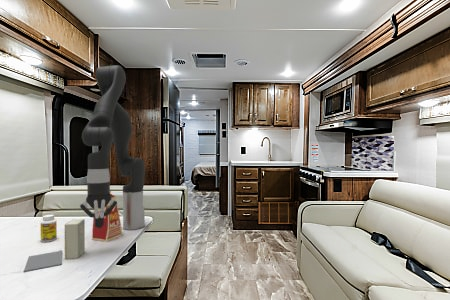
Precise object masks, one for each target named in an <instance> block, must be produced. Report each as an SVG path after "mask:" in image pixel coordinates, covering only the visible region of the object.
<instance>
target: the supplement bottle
mask: <svg viewBox="0 0 450 300" xmlns="http://www.w3.org/2000/svg"><path fill="white" fill-rule="evenodd" d="M57 227H58V226H57V219H56V218H55V215H54V214H46V215H43V216H42V220H41V221H40V241H41V242H42V243H48V242H53V241H55V240H56V239H57V234H58V233H57V232H58V231H57Z"/></svg>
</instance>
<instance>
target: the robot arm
mask: <svg viewBox="0 0 450 300" xmlns="http://www.w3.org/2000/svg"><path fill="white" fill-rule="evenodd" d="M95 78H96V83H97V86H98V88H99V91H100V93H101V97H100V98H99V99H98V101H97V102H96V104H95V106H94V110H93V113H92V117H91V118H90V119H89V121H88V123H87V124H86V125H85V127H84V128H83V130H82V133H81V140H82V143H83V144H84V145H85V146H88V147H100V150H99V151H96V152H91V153H89V154H88V156H87V175H86V178H87V179H86V181H87V185H86V186H87V197H86V199H85V201H84V202H82V203H80V204H79V207H80V208H81V210H82V211H83V212H84V214H85V213H86V215H87V216H88V217H90V218H92V219H93V218H95V226H96V227H97V229H98V228H102V226H103V225H104V217H105V216H108V215H109V214H110V212H111V211H112V210H113V208H114V207H115V206H116V204H117V205H118V201H117V200H116V201H115V200H113V199H111V196H110V191H111V182H110V180H111V176H110V153H111V149H112V146H113V144H114V149H115V155H116V162H117V167H118V168H117V169H118V171H119V174H120V175H121V176H122V177H125V178H130V182H129V183H126V184H125V185H123V186H122V227H123V229H124V230H131V231H133V230H138V229H141V228H145V226H146V224H145V221H146V219H145V217H146V216H145V206H144V185H145V177H146V173H145V172H146V166H145V165H146V164H145V162H144V160H143V159H142V158H141V157H131V156H130V153H129V143H130V141H131V138H132V135H133V124H132V121H131V116H130V115H129V112H128V111H127V110H126V109H125V108H124V107H122V105H121V104H120V103H119V102H118V101H119V99H120V97H121V94H122V92H123V90H124V88H125V84H126V80H127V77H126V72H125V70H124V68H123V67H122V66H121V65H118V64H117V65H105V66H99V67H97V68H96V70H95ZM109 202H110V206H109V207H108V209H107V210H106V211H105V212H104V208H105V207H106V206H107V205H108V203H109ZM88 206H89V207H90V208H91V209H93V212H92V211H91V210H90V209H89V208H88ZM99 208H100V217H99V214H98V209H99Z"/></svg>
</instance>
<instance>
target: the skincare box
mask: <svg viewBox="0 0 450 300" xmlns="http://www.w3.org/2000/svg"><path fill="white" fill-rule="evenodd" d="M85 233H86V232H85V219H84V218H83V219H82V218H79V219H75V218H73V219H71V220H69V221H67V222H66V223H65V224H64V260H68V259H72V260H73V259H78V258H79V257H81V256H82V255H83V254H84V253H85V252H86V251H85V250H86V248H85V246H86V245H85V239H86V237H85V236H86V235H85Z"/></svg>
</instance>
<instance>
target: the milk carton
mask: <svg viewBox="0 0 450 300" xmlns="http://www.w3.org/2000/svg"><path fill="white" fill-rule="evenodd" d="M110 196H111V199H113V200H115V201H117V198H116V195H114V194H112V190H110ZM109 206H110V202H109V203H108V205H107V206H106V207H105V208H104V212H105V211H106V210H107V209H108V207H109ZM98 214H99V217H100V208H99V209H98ZM120 217H121V216H120V212H119V206H118V203H117V204H116V206H115V207H114V208H113V210H112V211H111V212H110V214H109V215H108V216H105V217H104V225H103V226H102V228H98V229H97V227H96V226H95V218H93V217H92V219H93V220H92V229H91V230H92V233H91V240H93V241H99V242H105V243H107V242H110V241H113V240H115V239H117V238H119V237H122V236H124V235H123V234H124V233H123V229H122V223H121V218H120Z"/></svg>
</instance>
